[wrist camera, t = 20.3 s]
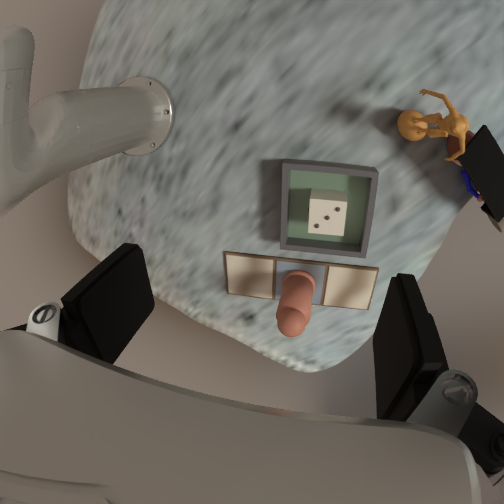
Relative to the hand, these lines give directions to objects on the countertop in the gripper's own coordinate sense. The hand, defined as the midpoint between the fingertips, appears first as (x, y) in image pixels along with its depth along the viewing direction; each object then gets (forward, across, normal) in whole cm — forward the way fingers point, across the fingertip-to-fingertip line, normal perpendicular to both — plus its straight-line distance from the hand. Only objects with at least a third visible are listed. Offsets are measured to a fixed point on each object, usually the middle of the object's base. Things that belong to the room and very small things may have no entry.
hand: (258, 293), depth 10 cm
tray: (+30, -3, +7) cm, 31 cm away
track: (+30, 0, +20) cm, 36 cm away
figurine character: (+31, -25, -1) cm, 40 cm away
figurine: (+31, -14, -6) cm, 34 cm away
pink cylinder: (+30, 0, +20) cm, 36 cm away
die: (+30, -3, +7) cm, 31 cm away
